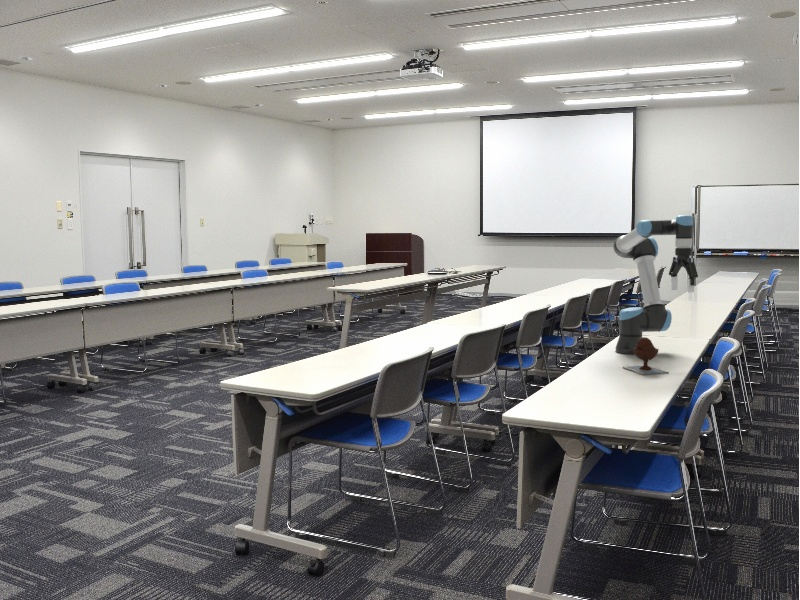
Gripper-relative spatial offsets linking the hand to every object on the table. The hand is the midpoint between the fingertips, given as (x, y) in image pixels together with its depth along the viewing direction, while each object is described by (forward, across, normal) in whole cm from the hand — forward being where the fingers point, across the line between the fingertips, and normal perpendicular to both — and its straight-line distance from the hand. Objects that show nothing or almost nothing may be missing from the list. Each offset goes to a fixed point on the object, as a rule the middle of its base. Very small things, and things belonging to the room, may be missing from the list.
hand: (682, 291), depth 348 cm
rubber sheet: (+34, -17, +30) cm, 48 cm away
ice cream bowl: (+34, -17, +30) cm, 48 cm away
